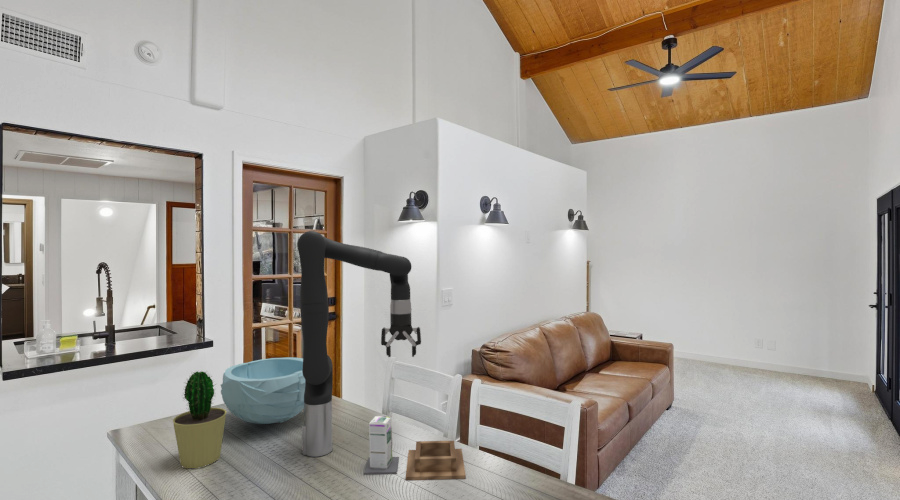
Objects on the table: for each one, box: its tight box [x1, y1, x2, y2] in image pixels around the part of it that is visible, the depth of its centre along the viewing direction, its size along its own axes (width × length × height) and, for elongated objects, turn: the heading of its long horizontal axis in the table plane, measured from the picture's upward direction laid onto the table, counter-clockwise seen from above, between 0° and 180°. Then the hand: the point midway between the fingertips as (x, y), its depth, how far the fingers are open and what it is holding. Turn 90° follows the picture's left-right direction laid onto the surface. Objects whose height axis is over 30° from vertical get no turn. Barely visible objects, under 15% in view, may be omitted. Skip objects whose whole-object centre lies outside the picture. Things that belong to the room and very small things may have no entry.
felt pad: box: [363, 456, 400, 475], centre depth 145 cm, size 10×10×1 cm
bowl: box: [220, 356, 305, 425], centre depth 181 cm, size 35×35×22 cm
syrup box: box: [368, 415, 393, 469], centre depth 145 cm, size 6×6×14 cm
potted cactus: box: [172, 370, 228, 469], centre depth 149 cm, size 15×15×30 cm
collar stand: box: [405, 440, 467, 481], centre depth 145 cm, size 18×18×5 cm
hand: (401, 356), depth 164 cm, fingers open, 8 cm apart
